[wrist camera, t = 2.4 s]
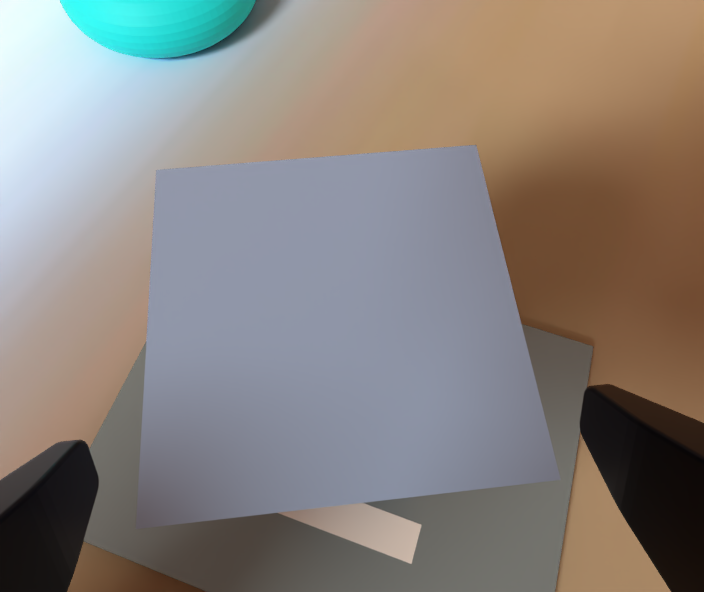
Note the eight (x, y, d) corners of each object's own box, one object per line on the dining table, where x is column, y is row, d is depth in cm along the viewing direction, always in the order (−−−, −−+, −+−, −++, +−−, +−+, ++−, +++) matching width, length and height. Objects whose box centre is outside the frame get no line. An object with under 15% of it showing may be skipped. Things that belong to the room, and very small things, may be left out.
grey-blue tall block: (414, 490, 16) (560, 479, 5) (280, 506, 16) (135, 529, 5) (395, 361, 18) (476, 144, 7) (274, 373, 18) (156, 169, 7)
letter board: (529, 719, 14) (534, 725, 14) (54, 526, 16) (48, 526, 16) (588, 349, 19) (593, 346, 18) (210, 229, 21) (207, 224, 20)
